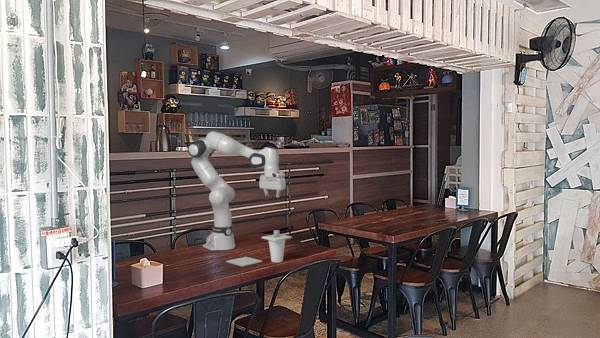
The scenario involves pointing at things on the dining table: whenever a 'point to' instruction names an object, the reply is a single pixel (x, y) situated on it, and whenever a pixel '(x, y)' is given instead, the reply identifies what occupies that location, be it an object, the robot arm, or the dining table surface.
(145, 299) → the dining table surface
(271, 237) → the lid
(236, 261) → the mat
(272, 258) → the foam cup
